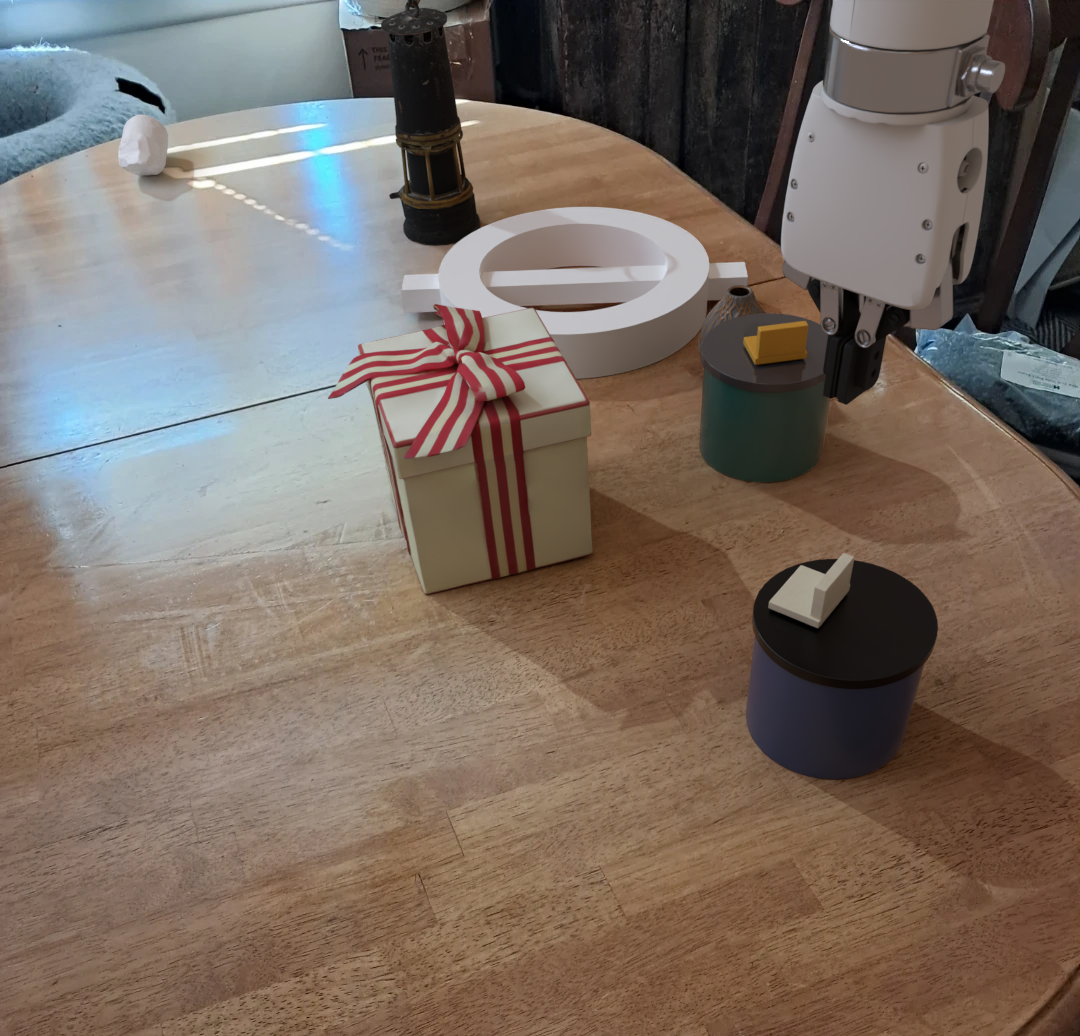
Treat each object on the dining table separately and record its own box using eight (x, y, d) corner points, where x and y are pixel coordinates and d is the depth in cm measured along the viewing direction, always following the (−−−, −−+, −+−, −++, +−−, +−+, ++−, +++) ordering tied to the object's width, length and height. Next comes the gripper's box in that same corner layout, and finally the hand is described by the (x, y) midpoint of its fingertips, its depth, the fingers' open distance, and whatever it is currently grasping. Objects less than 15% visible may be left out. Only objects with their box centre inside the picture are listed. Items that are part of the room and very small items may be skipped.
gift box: (344, 507, 101) (304, 324, 88) (540, 454, 105) (528, 272, 92) (398, 627, 90) (361, 439, 77) (614, 564, 94) (613, 374, 81)
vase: (688, 363, 114) (693, 278, 108) (756, 353, 115) (764, 268, 108) (708, 400, 109) (713, 314, 103) (778, 389, 110) (788, 303, 104)
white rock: (123, 194, 149) (109, 149, 145) (129, 158, 157) (116, 115, 153) (170, 189, 150) (157, 144, 146) (173, 153, 158) (161, 109, 154)
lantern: (388, 229, 138) (344, -65, 116) (447, 204, 142) (415, -85, 120) (435, 252, 133) (399, -50, 111) (495, 226, 137) (471, -71, 115)
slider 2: (849, 590, 75) (856, 554, 73) (818, 629, 73) (824, 593, 71) (799, 571, 77) (805, 535, 75) (767, 608, 74) (772, 572, 72)
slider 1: (806, 358, 95) (811, 324, 93) (754, 365, 95) (758, 331, 92) (793, 337, 97) (797, 303, 95) (742, 343, 97) (745, 310, 95)
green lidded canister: (843, 475, 100) (861, 373, 93) (714, 492, 100) (721, 391, 92) (803, 403, 108) (816, 304, 101) (682, 419, 107) (686, 321, 100)
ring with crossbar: (390, 315, 124) (383, 272, 120) (574, 226, 136) (573, 185, 133) (574, 411, 109) (572, 366, 106) (761, 301, 122) (765, 258, 118)
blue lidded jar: (936, 702, 82) (967, 597, 74) (864, 809, 76) (890, 706, 68) (789, 641, 87) (805, 536, 79) (710, 736, 81) (719, 633, 73)
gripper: (1078, 76, 56) (989, 407, 69) (819, 19, 63) (784, 329, 77) (999, 124, 52) (921, 464, 66) (735, 59, 60) (714, 376, 73)
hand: (848, 390), depth 71 cm, fingers closed
